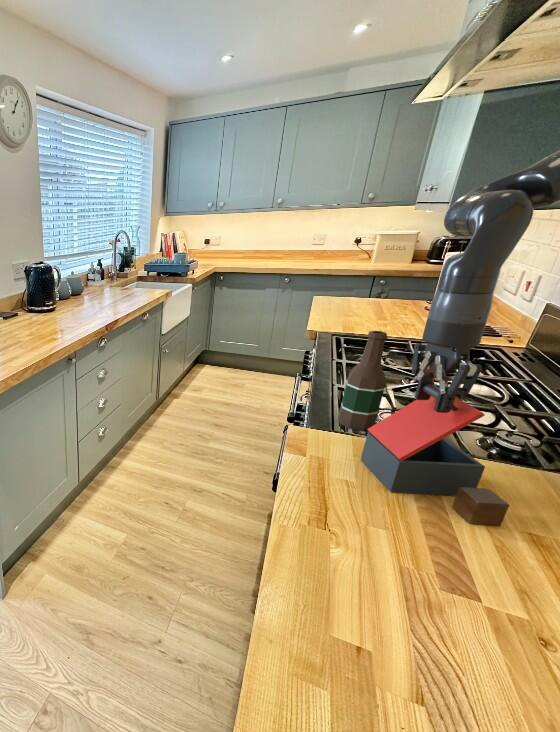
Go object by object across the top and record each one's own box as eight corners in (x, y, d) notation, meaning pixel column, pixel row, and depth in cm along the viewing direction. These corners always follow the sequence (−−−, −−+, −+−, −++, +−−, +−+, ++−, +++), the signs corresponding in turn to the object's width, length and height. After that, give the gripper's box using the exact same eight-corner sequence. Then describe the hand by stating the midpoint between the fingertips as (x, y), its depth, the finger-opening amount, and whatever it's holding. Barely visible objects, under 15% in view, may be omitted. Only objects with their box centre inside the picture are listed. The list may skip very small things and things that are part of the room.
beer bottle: (367, 434, 100) (392, 338, 91) (331, 423, 106) (352, 332, 97) (379, 424, 104) (405, 331, 95) (344, 414, 110) (365, 326, 101)
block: (480, 509, 75) (488, 488, 73) (500, 526, 70) (510, 504, 69) (451, 507, 75) (459, 486, 74) (469, 524, 71) (478, 502, 70)
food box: (432, 463, 88) (441, 435, 86) (473, 497, 77) (485, 466, 75) (360, 459, 91) (367, 432, 88) (390, 492, 80) (399, 462, 78)
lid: (440, 389, 82) (425, 372, 82) (485, 415, 72) (468, 395, 71) (369, 431, 88) (354, 415, 87) (401, 461, 77) (385, 443, 77)
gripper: (517, 326, 65) (484, 423, 71) (453, 307, 78) (429, 390, 84) (461, 327, 66) (433, 422, 72) (407, 308, 79) (387, 390, 86)
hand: (431, 404), depth 78 cm, fingers closed on lid, 5 cm apart
